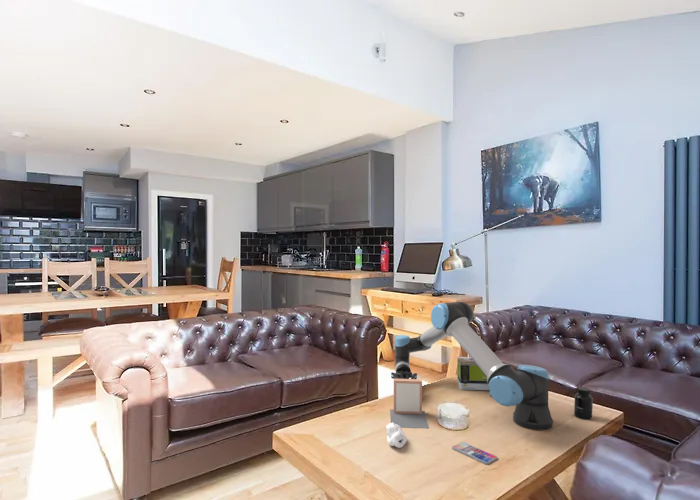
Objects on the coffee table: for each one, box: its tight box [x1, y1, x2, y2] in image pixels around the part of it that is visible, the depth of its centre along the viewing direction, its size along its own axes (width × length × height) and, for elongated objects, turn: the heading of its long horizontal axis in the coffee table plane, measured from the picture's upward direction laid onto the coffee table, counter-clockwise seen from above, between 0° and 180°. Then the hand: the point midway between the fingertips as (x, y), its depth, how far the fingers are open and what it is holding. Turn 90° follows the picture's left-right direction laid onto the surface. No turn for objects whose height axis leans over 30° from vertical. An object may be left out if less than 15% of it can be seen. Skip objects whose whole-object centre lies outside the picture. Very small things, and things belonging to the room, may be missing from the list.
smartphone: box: [451, 441, 499, 466], centre depth 149 cm, size 7×1×15 cm
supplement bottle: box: [573, 386, 594, 420], centre depth 181 cm, size 7×7×12 cm
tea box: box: [456, 356, 490, 392], centre depth 217 cm, size 15×10×15 cm
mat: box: [389, 408, 430, 430], centre depth 177 cm, size 18×15×1 cm
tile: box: [392, 378, 423, 414], centre depth 183 cm, size 3×12×14 cm, turn 86°
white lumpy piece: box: [385, 422, 408, 449], centre depth 157 cm, size 9×12×8 cm
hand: (406, 386), depth 192 cm, fingers closed
